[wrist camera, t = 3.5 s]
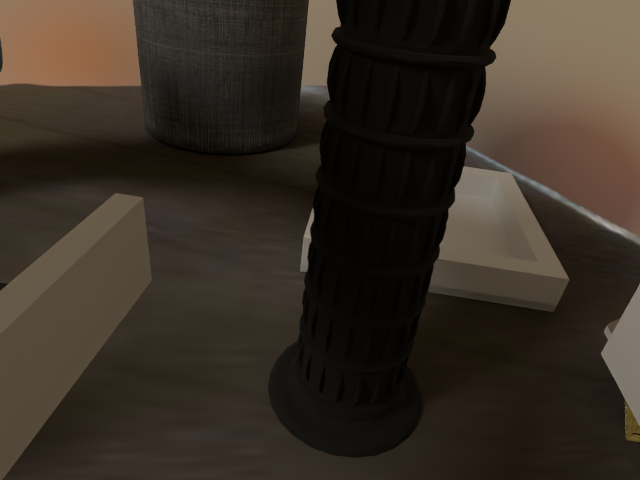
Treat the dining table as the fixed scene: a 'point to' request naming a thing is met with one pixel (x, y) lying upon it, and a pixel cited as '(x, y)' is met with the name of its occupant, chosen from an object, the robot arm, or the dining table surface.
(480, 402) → the dining table surface
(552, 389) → the dining table surface
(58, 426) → the dining table surface
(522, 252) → the tray
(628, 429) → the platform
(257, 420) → the dining table surface
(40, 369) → the robot arm
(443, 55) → the ribbed tower figurine
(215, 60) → the planter
